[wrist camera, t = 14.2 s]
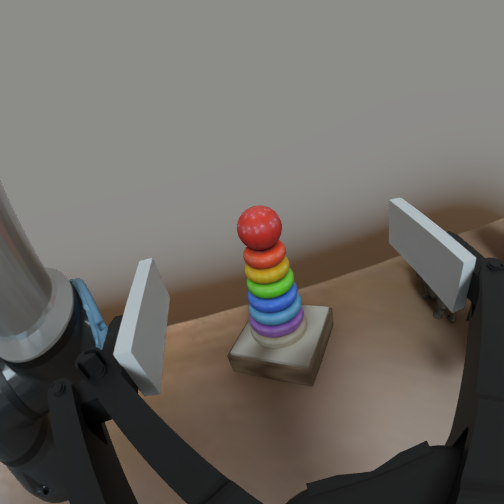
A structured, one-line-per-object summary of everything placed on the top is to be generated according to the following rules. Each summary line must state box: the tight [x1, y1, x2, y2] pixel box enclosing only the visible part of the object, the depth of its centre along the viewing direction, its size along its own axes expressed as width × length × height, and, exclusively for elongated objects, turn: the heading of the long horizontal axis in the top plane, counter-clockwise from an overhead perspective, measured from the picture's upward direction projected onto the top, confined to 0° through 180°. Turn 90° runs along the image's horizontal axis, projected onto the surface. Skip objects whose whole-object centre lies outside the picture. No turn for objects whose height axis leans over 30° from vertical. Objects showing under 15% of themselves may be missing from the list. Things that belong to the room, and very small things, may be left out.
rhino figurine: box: [417, 273, 456, 322], centre depth 45 cm, size 4×14×6 cm, turn 1°
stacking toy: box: [237, 206, 307, 348], centre depth 39 cm, size 8×8×19 cm
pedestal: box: [227, 305, 333, 386], centre depth 45 cm, size 12×12×4 cm
